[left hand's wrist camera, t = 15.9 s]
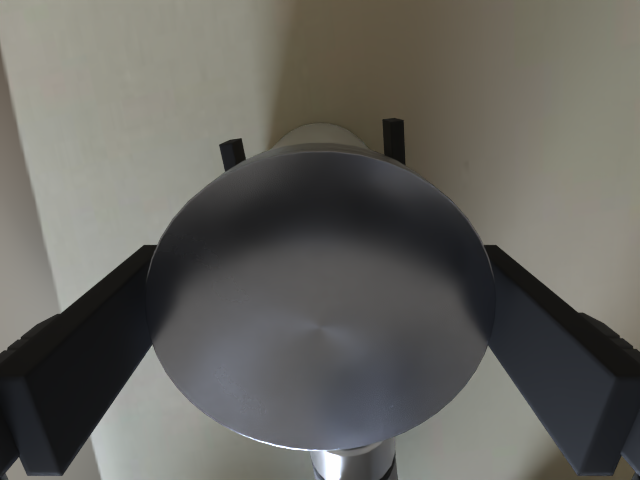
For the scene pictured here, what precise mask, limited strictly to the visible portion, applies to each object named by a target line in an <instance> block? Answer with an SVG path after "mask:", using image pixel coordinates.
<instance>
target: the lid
mask: <svg viewBox="0 0 640 480" xmlns="http://www.w3.org/2000/svg"><path fill="white" fill-rule="evenodd" d="M495 308H496V292H495V282H494V275H493V272H492V268H491V264H490V260H489V257H488V254H487V252H486V250H485V248H484V245H483V243H482V241H481V239H480V237H479V235H478V234H477V232H476V230H475V229H474V227H473V226H472V224H471V223H470V221H469V220H468V218H467V217H466V216H465V215H464V214H463V213H462V211H461V210H460V209H459V208H458V207H457V206H456V205H455V204H454V202H453V201H452V200H451V199H449V198H448V197H447V196H446V195H444V194H443V193H442V192H441V191H440V190H438V189H437V188H436V187H435V186H434V185H432V184H431V183H430V182H428V181H427V180H426V179H424V178H423V177H422V176H420V175H419V174H418V173H416V172H415V171H413V170H412V169H410V168H408V167H407V166H405V165H403V164H402V163H400V162H398V161H397V160H394V159H392V158H390V157H387V156H385V155H383V154H380V153H378V152H376V151H372V150H368V149H365V148H361V147H357V146H353V145H346V144H338V143H302V144H295V145H288V146H283V147H280V148H276V149H273V150H269V151H265V152H262V153H260V154H258V155H256V156H253V157H251V158H249V159H246V160H244V161H242V162H241V163H239V164H237V165H236V166H234V167H232V168H231V169H229V170H228V171H226V172H224V173H223V174H222V175H220V176H219V177H218V178H216V179H215V180H214V181H212V182H211V183H210V184H208V185H207V186H206V187H205V188H204V189H202V190H201V191H200V192H199V193H198V194H196V195H195V196H194V197H193V198H192V199H190V200H189V201H188V202H187V203H186V204H185V206H184V207H183V208H182V209H181V210H180V211H179V212H178V214H177V215H176V216H175V217H174V218H173V219H172V221H171V222H170V224H169V226H168V227H167V229H166V230H165V232H164V233H163V235H162V236H161V238H160V240H159V243H158V245H157V247H156V249H155V252H154V254H153V256H152V259H151V263H150V267H149V271H148V275H147V279H146V290H145V312H146V321H147V326H148V331H149V335H150V339H151V341H152V344H153V347H154V349H155V352H156V355H157V357H158V359H159V361H160V362H161V364H162V366H163V368H164V370H165V372H166V373H167V374H168V376H169V377H170V379H171V380H172V381H173V383H174V384H175V385H176V387H177V388H178V389H179V390H180V391H181V392H182V393H183V394H184V395H185V397H186V398H187V399H188V400H189V401H190V402H191V403H193V404H194V405H195V406H196V407H197V408H199V409H200V410H201V411H202V412H203V413H205V414H206V415H208V416H209V417H211V418H212V419H214V420H215V421H217V422H218V423H220V424H221V425H223V426H225V427H227V428H229V429H231V430H233V431H235V432H237V433H239V434H241V435H244V436H246V437H249V438H251V439H254V440H257V441H260V442H264V443H267V444H271V445H275V446H280V447H286V448H291V449H301V450H340V449H350V448H355V447H360V446H366V445H370V444H373V443H377V442H380V441H384V440H387V439H389V438H392V437H394V436H397V435H399V434H402V433H404V432H406V431H408V430H410V429H412V428H414V427H416V426H417V425H419V424H421V423H423V422H424V421H426V420H427V419H429V418H430V417H432V416H433V415H435V414H436V413H437V412H439V411H440V410H441V409H442V408H443V407H444V406H446V405H447V404H448V403H449V402H450V401H452V399H453V398H454V397H455V396H456V395H457V394H458V393H459V392H460V391H461V390H462V389H463V388H464V386H465V385H466V384H467V382H468V381H469V380H470V378H471V377H472V375H473V374H474V373H475V371H476V369H477V367H478V366H479V364H480V362H481V360H482V358H483V356H484V354H485V352H486V349H487V346H488V343H489V341H490V338H491V334H492V329H493V325H494V320H495Z"/></svg>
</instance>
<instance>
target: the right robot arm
mask: <svg viewBox="0 0 640 480" xmlns="http://www.w3.org/2000/svg"><path fill="white" fill-rule="evenodd" d="M382 121H383V138H384V155H385V156H387V157H390V158H392V159H394V160H397V161H398V162H400V163H402V164H403V165H405V145H404V120H401V119H396V118H390V119H383V120H382ZM219 146H220V151H221V155H222V160H223V164H224V168H225V172H226V171H228V170H229V169H231V168H232V167H234V166H236V165H237V164H239V163H241V162H242V161H244V160H246V158H245V153H244V148H243V143H242V138H240V139H233V140H229V141H226V142H224V143H222V144H220V145H219ZM310 455H311V459H312V464H313V468H314V475H315V480H398V477H397V468H396V459H395V436H394V437H392V438H389V439H387V440H384V441H380V442H377V443H373V444H370V445H366V446H360V447H355V448H350V449H340V450H310Z"/></svg>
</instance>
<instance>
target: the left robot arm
mask: <svg viewBox="0 0 640 480" xmlns="http://www.w3.org/2000/svg"><path fill="white" fill-rule="evenodd" d="M156 247H157V245H143V246H142V247H141V248H140V249H139V250H137V251H136V252H135V253H134V254H133V255H131V256H130V257H129V258H128V259H126V260H125V261H124V262H123V263H122V264H120V265H119V266H118V267H117V268H116V269H114V270H113V271H112V272H111V273H109V274H108V275H107V276H106V277H105V278H103V279H102V280H101V281H100V282H99V283H97V284H96V285H95V286H94V287H92V288H91V289H90V290H89V291H88V292H86V293H85V294H84V295H83V296H82V297H80V298H79V299H78V300H77V301H75V302H74V303H73V304H72V305H71V306H69V307H68V308H67V309H66V310H65V311H63V312H62V313H61V314H56V315H54V316H52V317H50V318H49V319H47V320H45V321H43V322H41V323H39V324H37V325H36V326H34V327H33V328H32V329H31V330H29V331H28V332H27V333H25V334H24V335H23V336H22V337H21V339H20V340H17V341H15V342H14V343H13V344H12V345H10V346H9V347H8V349H7V350H5V351H3V352H1V353H0V480H8V478H7V476H6V471H7V470H8V469H9V468H10V467H11V466H12V464H13V463H14V462H15V461H16V460H17V458H18V457H19V458H20V460H21V462H22V465H23V467H24V469H25V471H26V474H27V475H28V476H62V475H63V474H64V472H65V471H66V470H67V468H68V467H69V465H70V464H71V462H72V461H73V459H74V458H75V456H76V455H77V454H78V452H79V451H80V449H81V448H82V446H83V445H84V443H85V442H86V440H87V439H88V437H89V436H90V435H91V433H92V432H93V430H94V429H95V427H96V426H97V424H98V423H99V421H100V420H101V419H102V417H103V416H104V414H105V413H106V411H107V410H108V408H109V407H110V405H111V404H112V403H113V401H114V400H115V398H116V397H117V395H118V394H119V392H120V391H121V389H122V388H123V386H124V385H125V384H126V382H127V381H128V379H129V378H130V376H131V375H132V373H133V372H134V370H135V369H136V368H137V366H138V365H139V363H140V362H141V360H142V359H143V357H144V356H145V354H146V353H147V351H148V350H149V349H150V347H151V346H152V341H151V339H150V335H149V331H148V326H147V321H146V312H145V290H146V279H147V275H148V271H149V267H150V263H151V259H152V256H153V254H154V252H155V249H156ZM484 248H485V250H486V252H487V254H488V257H489V260H490V264H491V268H492V272H493V275H494V282H495V292H496V308H495V320H494V325H493V329H492V334H491V338H490V341H489V343H488V346H489V347H490V349H491V350H492V352H493V353H494V354H495V356H496V357H497V359H498V360H499V362H500V363H501V365H502V366H503V368H504V369H505V370H506V372H507V373H508V375H509V376H510V378H511V379H512V381H513V382H514V384H515V385H516V386H517V388H518V389H519V391H520V392H521V394H522V395H523V397H524V398H525V400H526V401H527V403H528V404H529V405H530V407H531V408H532V410H533V411H534V413H535V414H536V416H537V417H538V419H539V420H540V421H541V423H542V424H543V426H544V427H545V429H546V430H547V432H548V433H549V435H550V436H551V438H552V439H553V440H554V442H555V443H556V445H557V446H558V448H559V449H560V451H561V452H562V454H563V455H564V456H565V458H566V459H567V461H568V462H569V464H570V465H571V467H572V468H573V470H574V471H575V472H576V474H577V475H578V476H613V474H614V471H615V469H616V467H617V464H618V462H619V460H620V458H621V455H622V456H623V458H624V459H625V460H626V461H627V462H628V463H629V465H630V466H631V467H632V468H633V469H634V471H635V473H634V476H633V478H632V480H640V351H638V350H637V349H633V346H632V345H631V344H629V343H628V342H627V341H626V340H624V339H623V338H620V336H619V335H618V334H617V333H615V332H614V331H613V330H612V329H610V328H609V327H608V326H607V325H605V324H604V323H602V322H600V321H598V320H596V319H594V318H592V317H590V316H588V315H587V314H585V313H578V312H577V311H575V310H574V309H573V308H572V307H571V306H569V305H568V304H567V303H566V302H565V301H563V300H562V299H561V298H560V297H558V296H557V295H556V294H555V293H554V292H552V291H551V290H550V289H549V288H548V287H546V286H545V285H544V284H543V283H541V282H540V281H539V280H538V279H537V278H535V277H534V276H533V275H532V274H531V273H529V272H528V271H527V270H526V269H524V268H523V267H522V266H521V265H520V264H518V263H517V262H516V261H515V260H514V259H512V258H511V257H510V256H509V255H507V254H506V253H505V252H504V251H503V250H501V249H500V248H499V247H498V246H497V245H484Z"/></svg>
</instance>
